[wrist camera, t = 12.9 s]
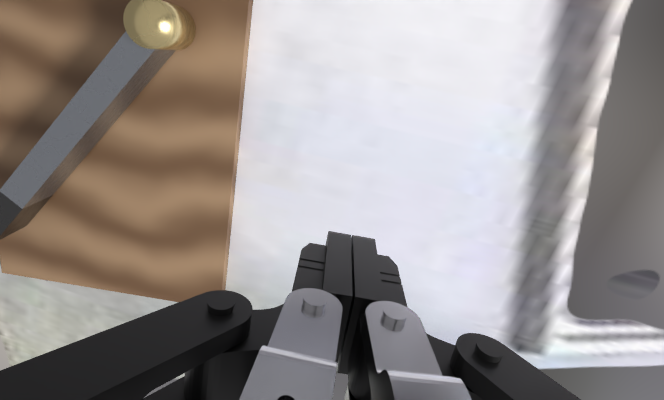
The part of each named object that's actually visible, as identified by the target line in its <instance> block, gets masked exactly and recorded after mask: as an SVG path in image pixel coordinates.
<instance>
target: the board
mask: <svg viewBox="0 0 664 400" xmlns="http://www.w3.org/2000/svg"><path fill="white" fill-rule="evenodd" d="M130 1H131V0H0V189H1V188H2V186H3V185H4V184H5V183H6V181H7V180H8V179H9V178H10V176H11V175H12V174H13V173H14V171H15V170H16V169H17V167H18V166H19V165H20V164H21V162H22V161H23V160H24V159H25V157H26V156H27V155H28V154H29V152H30V151H31V150H32V149H33V147H34V146H35V145H36V144H37V142H38V141H39V140H40V139H41V137H42V136H43V135H44V133H45V132H46V131H47V130H48V128H49V127H50V126H51V125H52V123H53V122H54V121H55V120H56V118H57V117H58V116H59V115H60V113H61V112H62V111H63V110H64V108H65V107H66V106H67V105H68V103H69V102H70V101H71V99H72V98H73V97H74V96H75V94H76V93H77V92H78V91H79V89H80V88H81V87H82V86H83V84H84V83H85V82H86V81H87V79H88V78H89V77H90V76H91V74H92V73H93V72H94V71H95V69H96V68H97V67H98V65H99V64H100V63H101V62H102V60H103V59H104V58H105V57H106V55H107V54H108V53H109V52H110V50H111V49H112V48H113V47H114V45H115V44H116V43H117V42H118V40H119V39H120V38H121V37H122V35H123V34H124V33H125V31H126V30H125V27H124V21H123V15H124V11H125V8H126V6H127V4H128V3H129V2H130ZM162 1H165V2H168V3H171V4H174V5H177V6H180V7H182V8H184V9H185V10H187V11H188V12H189V14H190V15H191V16H192V18H193V20H194V22H195V27H196V35H195V38H194V41H193V42H192V44H191V45H190V46H189V47H187V48H186V49H183V50H176V51H175V52H174V53H173V55H172V56H171V57H170V58H169V59H168V60H167V62H166V63H165V64H164V65H163V66H162V67H161V69H160V70H159V71H158V72H157V73H156V74H155V76H154V77H153V78H152V79H151V80H150V82H149V83H148V84H147V85H146V86H145V87H144V89H143V90H142V91H141V92H140V93H139V94H138V96H137V97H136V98H135V99H134V100H133V102H132V103H131V104H130V105H129V106H128V107H127V109H126V110H125V111H124V112H123V113H122V114H121V116H120V117H119V118H118V119H117V120H116V121H115V123H114V124H113V125H112V126H111V127H110V129H109V130H108V131H107V132H106V133H105V134H104V136H103V137H102V138H101V139H100V140H99V141H98V143H97V144H96V145H95V146H94V147H93V149H92V150H91V151H90V152H89V153H88V154H87V156H86V157H85V158H84V159H83V160H82V161H81V163H80V164H79V165H78V166H77V167H76V168H75V170H74V171H73V172H72V173H71V174H70V176H69V177H68V178H67V179H66V180H65V181H64V183H63V184H62V185H61V186H60V187H59V188H58V190H57V191H56V192H55V193H54V194H53V196H52V197H51V198H50V199H49V200H48V201H47V203H46V204H45V205H44V206H43V207H42V208H41V210H40V211H39V212H38V213H37V214H36V215H35V217H34V218H33V219H32V220H31V221H30V223H29V224H28V225H27V226H26V227H24V228H22V229H20V230H18V231H16V232H14V233H12V234H10V235H8V236H6V237H5V238H3V239H1V240H0V261H1V269H2V273H7V274H13V275H19V276H25V277H31V278H37V279H43V280H49V281H55V282H61V283H67V284H73V285H79V286H85V287H91V288H97V289H103V290H109V291H115V292H121V293H127V294H133V295H139V296H145V297H151V298H157V299H163V300H169V301H175V302H181V301H184V300H187V299H189V298H192V297H194V296H197V295H200V294H202V293H205V292H209V291H216V290H225V286H226V275H227V265H228V255H229V244H230V234H231V223H232V213H233V203H234V192H235V182H236V171H237V161H238V150H239V140H240V130H241V119H242V109H243V98H244V88H245V78H246V67H247V57H248V46H249V36H250V25H251V15H252V5H253V0H162Z"/></svg>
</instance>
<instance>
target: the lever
mask: <svg viewBox="0 0 664 400" xmlns="http://www.w3.org/2000/svg"><path fill="white" fill-rule="evenodd" d="M123 21H124V27H125V30H126V31H125V33H124V34H123V35H122V37H121V38H120V39H119V40H118V42H117V43H116V44H115V45H114V47H113V48H112V49H111V50H110V52H109V53H108V54H107V55H106V57H105V58H104V59H103V60H102V62H101V63H100V64H99V65H98V67H97V68H96V69H95V71H94V72H93V73H92V74H91V76H90V77H89V78H88V79H87V81H86V82H85V83H84V84H83V86H82V87H81V88H80V89H79V91H78V92H77V93H76V94H75V96H74V97H73V98H72V99H71V101H70V102H69V103H68V105H67V106H66V107H65V108H64V110H63V111H62V112H61V113H60V115H59V116H58V117H57V118H56V120H55V121H54V122H53V123H52V125H51V126H50V127H49V128H48V130H47V131H46V132H45V133H44V135H43V136H42V137H41V139H40V140H39V141H38V142H37V144H36V145H35V146H34V147H33V149H32V150H31V151H30V152H29V154H28V155H27V156H26V157H25V159H24V160H23V161H22V162H21V164H20V165H19V166H18V167H17V169H16V170H15V171H14V173H13V174H12V175H11V176H10V178H9V179H8V180H7V181H6V183H5V184H4V185H3V186H2V188H1V189H0V240H1V239H3V238H5V237H6V236H8V235H10V234H12V233H14V232H16V231H18V230H20V229H22V228H24V227H26V226H27V225H28V224H29V223H30V221H31V220H32V219H33V218H34V217H35V215H36V214H37V213H38V212H39V211H40V210H41V208H42V207H43V206H44V205H45V204H46V203H47V201H48V200H49V199H50V198H51V197H52V196H53V194H54V193H55V192H56V191H57V190H58V188H59V187H60V186H61V185H62V184H63V183H64V181H65V180H66V179H67V178H68V177H69V176H70V174H71V173H72V172H73V171H74V170H75V168H76V167H77V166H78V165H79V164H80V163H81V161H82V160H83V159H84V158H85V157H86V156H87V154H88V153H89V152H90V151H91V150H92V149H93V147H94V146H95V145H96V144H97V143H98V141H99V140H100V139H101V138H102V137H103V136H104V134H105V133H106V132H107V131H108V130H109V129H110V127H111V126H112V125H113V124H114V123H115V121H116V120H117V119H118V118H119V117H120V116H121V114H122V113H123V112H124V111H125V110H126V109H127V107H128V106H129V105H130V104H131V103H132V102H133V100H134V99H135V98H136V97H137V96H138V94H139V93H140V92H141V91H142V90H143V89H144V87H145V86H146V85H147V84H148V83H149V82H150V80H151V79H152V78H153V77H154V76H155V74H156V73H157V72H158V71H159V70H160V69H161V67H162V66H163V65H164V64H165V63H166V62H167V60H168V59H169V58H170V57H171V56H172V55H173V53H174V52H175V51H176V50H183V49H186V48H187V47H189V46H190V45H191V44H192V42H193V41H194V38H195V35H196V27H195V22H194V20H193V18H192V16H191V15H190V14H189V12H188V11H187V10H185V9H184V8H182V7H180V6H177V5H174V4H171V3H168V2H165V1H162V0H131V1H130V2H129V3H128V4H127V6H126V8H125V11H124V15H123Z"/></svg>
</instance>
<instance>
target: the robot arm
mask: <svg viewBox="0 0 664 400" xmlns="http://www.w3.org/2000/svg"><path fill="white" fill-rule="evenodd" d="M337 363H338V373H343V374H348V386H347V389H346V394H345V398H344V400H580V399H579V398H578V397H576V396H575V395H574V394H572V393H571V392H569V391H568V390H566V389H565V388H564V387H562V386H561V385H560V384H558V383H557V382H555V381H554V380H553V379H551V378H550V377H548V376H547V375H545V374H544V373H543V372H541V371H540V370H539V369H537V368H536V367H534V366H533V365H531V364H530V363H529V362H527V361H526V360H524V359H523V358H522V357H520V356H519V355H517V354H516V353H515V352H513V351H512V350H510V349H509V348H508V347H506V346H505V345H503V344H502V343H500V342H499V341H497V340H495V339H493V338H490V337H488V336H485V335H481V334H476V333H467V334H463V335H461V336H460V337H459V338H458V339H457V342H456V345H452V344H450V343H447V342H444V341H442V340H439V339H437V338H434V337H432V336H430V335H428V334H427V333H426V332H425V330H424V327H423V325H422V322H421V320H420V318H419V317H418V315H417V314H416V313H415V312H413V311H412V310H411V309H409V308H407V304H406V300H405V296H404V292H403V288H402V285H401V280H400V277H399V271H398V267H397V265H396V264H395V263H394V262H393V261H392V260H391V259H390V257H389V256H383V255H377V250H376V244H375V239H371V238H366V237H360V236H354V235H352V237H351V235H348V234H342V233H337V232H331V231H329V232H328V236H327V241H326V246H325V245H319V244H313V243H309V244H308V245H307V246H305V247H304V248H303V249H302V250H301V255H300V259H299V263H298V268H297V272H296V276H295V280H294V285H293V289H292V292H291V293H290V294H289V295H288V296H287V298H286V300H285V302H284V304H282V305H280V306H278V307H275V308H271V309H264V310H252V305H251V303H250V301H249V300H248V299H247V298H246V297H244V296H243V295H241V294H239V293H236V292H232V291H226V290H216V291H209V292H205V293H202V294H200V295H197V296H194V297H192V298H189V299H187V300H184V301H181V302H179V303H176V304H174V305H171V306H168V307H166V308H163V309H160V310H158V311H155V312H153V313H150V314H147V315H145V316H142V317H140V318H137V319H134V320H132V321H129V322H126V323H124V324H121V325H119V326H116V327H113V328H111V329H108V330H106V331H103V332H100V333H98V334H95V335H92V336H90V337H87V338H85V339H82V340H79V341H77V342H74V343H72V344H69V345H66V346H64V347H61V348H58V349H56V350H53V351H51V352H48V353H45V354H43V355H40V356H38V357H35V358H32V359H30V360H27V361H24V362H22V363H19V364H17V365H14V366H11V367H9V368H6V369H4V370H1V371H0V400H332V399H333V392H334V384H335V377H336V369H337ZM183 373H185V376H184V377H182V378H180V379H179V380H177V381H175V382H173V383H171V384H169V385H168V386H166V387H164V388H162V389H160V390H158V391H157V392H155V393H153V394H151V395H149V396H147V397H145V396H146V395H147V394H148V393H149V392H151V391H152V390H154V389H155V388H157V387H159V386H161V385H163V384H164V383H166V382H168V381H170V380H172V379H174V378H176V377H178V376H180V375H181V374H183ZM144 397H145V398H144Z"/></svg>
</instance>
